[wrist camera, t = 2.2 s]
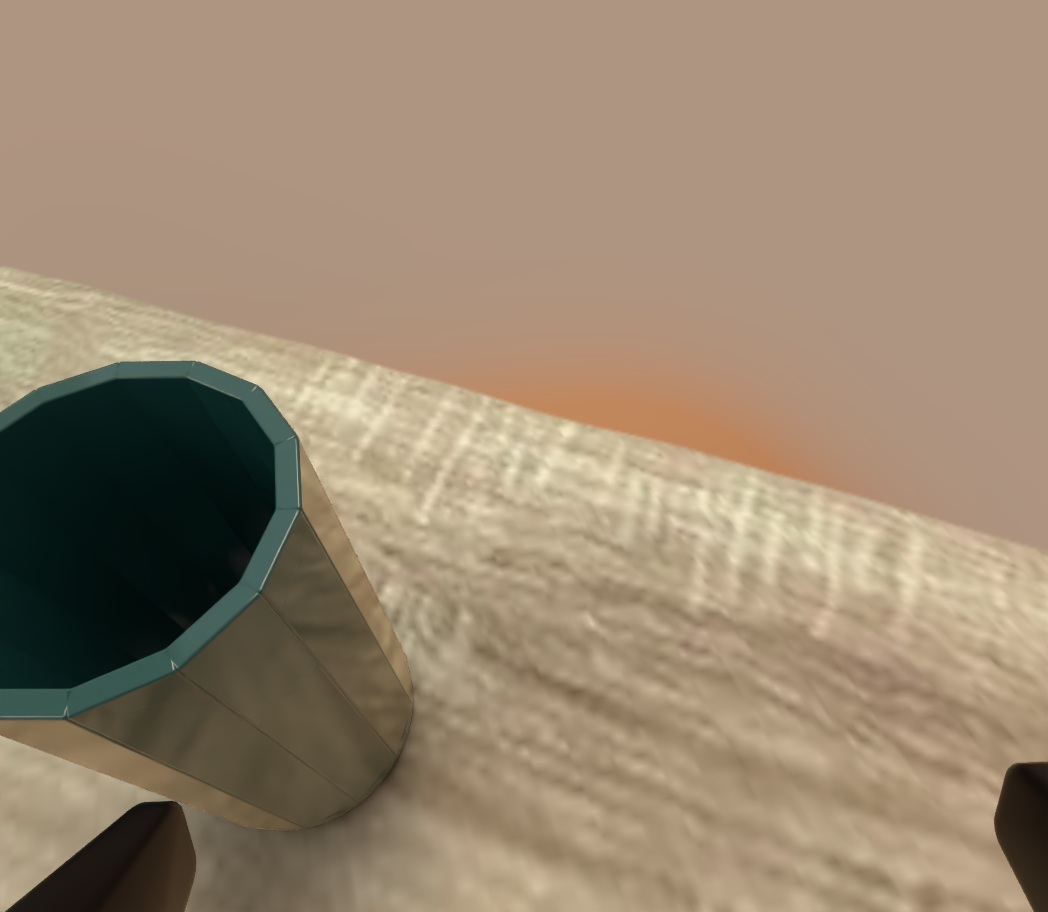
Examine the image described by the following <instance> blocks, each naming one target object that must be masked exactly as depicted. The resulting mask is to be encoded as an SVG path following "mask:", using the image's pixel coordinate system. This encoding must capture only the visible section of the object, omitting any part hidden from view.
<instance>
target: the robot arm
mask: <svg viewBox="0 0 1048 912" xmlns="http://www.w3.org/2000/svg"><path fill="white" fill-rule="evenodd" d="M994 826H995V832H996V836H997V839H998V842H999V844H1000V846H1001V848H1002V850H1003V852H1004V854H1005V856H1006V858H1007V860H1008V862H1009V864H1010V866H1011V868H1012V870H1013V872H1014V874H1015V876H1016V878H1017V880H1018V882H1019V884H1020V885H1021V887H1022V889H1023V891H1024V893H1025V895H1026V897H1027V899H1028V901H1029V903H1030V905H1031V907H1032V909H1033V911H1034V912H1048V762H1028V763H1016V764H1013V765H1012V766H1011V767H1009V769H1008V770H1007V772H1006V775H1005V778H1004V782H1003V786H1002V790H1001V794H1000V798H999V801H998V805H997V809H996V813H995V818H994ZM195 871H196V855H195V851H194V847H193V844H192V840H191V836H190V833H189V829H188V826H187V822H186V819H185V815H184V812H183V809H182V807H181V806H180V805H179V804H178V803H177V802H174V801H162V802H144V803H140V804H138V805H136V806H134V807H133V808H131V809H130V810H128V811H127V812H126V813H125V814H124V815H122V816H121V817H120V818H119V819H118V820H116V821H115V822H114V823H113V824H111V825H110V826H109V827H108V828H107V829H105V830H104V831H103V832H102V833H100V834H99V835H98V836H97V837H96V838H94V839H93V840H92V841H91V842H89V843H88V844H87V845H86V846H85V847H83V848H82V849H81V850H80V851H78V852H77V853H76V854H75V855H74V856H72V857H71V858H70V859H69V860H67V861H66V862H65V863H64V864H63V865H61V866H60V867H59V868H58V869H56V870H55V871H54V872H53V873H52V874H50V875H49V876H48V877H47V878H45V879H44V880H43V881H42V882H41V883H39V884H38V885H37V886H36V887H35V888H33V889H32V890H31V891H30V892H28V893H27V894H26V895H25V896H24V897H22V898H21V899H20V900H19V901H17V902H16V903H15V904H14V905H13V906H11V907H10V908H9V909H8V910H6V911H5V912H184V911H185V908H186V905H187V901H188V898H189V895H190V891H191V888H192V885H193V881H194V877H195Z"/></svg>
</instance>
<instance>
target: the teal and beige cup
mask: <svg viewBox="0 0 1048 912" xmlns="http://www.w3.org/2000/svg"><path fill="white" fill-rule="evenodd" d="M412 710H413V689H412V680H411V676H410V672H409V668H408V665H407V657H406V655H405V652H404V650H403V648H402V646H401V644H400V642H399V640H398V638H397V636H396V634H395V632H394V630H393V628H392V626H391V624H390V622H389V620H388V618H387V616H386V614H385V612H384V610H383V608H382V606H381V604H380V602H379V600H378V598H377V596H376V594H375V592H374V590H373V588H372V585H371V583H370V581H369V579H368V577H367V575H366V573H365V571H364V569H363V567H362V565H361V563H360V561H359V559H358V557H357V555H356V553H355V551H354V549H353V547H352V545H351V543H350V541H349V539H348V537H347V535H346V533H345V531H344V529H343V527H342V525H341V523H340V521H339V518H338V516H337V514H336V512H335V510H334V508H333V506H332V504H331V502H330V500H329V498H328V496H327V494H326V492H325V490H324V488H323V486H322V484H321V482H320V480H319V478H318V476H317V474H316V472H315V470H314V468H313V466H312V464H311V462H310V460H309V458H308V456H307V454H306V451H305V449H304V447H303V445H302V443H301V441H300V439H299V437H298V435H297V434H296V433H295V431H294V430H293V429H292V427H291V426H290V425H289V424H288V422H287V421H286V420H285V418H284V417H283V416H282V414H281V413H280V412H279V410H278V409H277V408H276V406H275V405H274V404H273V402H272V401H271V400H270V398H269V397H268V396H267V394H266V393H265V392H264V390H263V389H262V388H260V387H259V386H258V385H256V384H253V383H251V382H248V381H246V380H243V379H241V378H238V377H236V376H233V375H231V374H228V373H226V372H223V371H221V370H218V369H216V368H213V367H211V366H208V365H206V364H203V363H201V362H196V361H150V362H120V363H114V364H111V365H108V366H105V367H102V368H99V369H96V370H93V371H90V372H86V373H83V374H80V375H77V376H74V377H71V378H68V379H65V380H62V381H59V382H56V383H53V384H49V385H46V386H43V387H40V388H38V389H37V391H36V390H34V391H32V392H30V393H29V394H27V395H26V396H24V397H23V398H21V399H20V400H18V401H17V402H15V403H13V404H12V405H10V406H9V407H7V408H6V409H4V410H3V411H1V412H0V735H1V736H3V737H6V738H9V739H11V740H14V741H17V742H19V743H22V744H25V745H28V746H30V747H33V748H36V749H38V750H41V751H44V752H46V753H49V754H52V755H54V756H57V757H60V758H62V759H65V760H68V761H71V762H73V763H76V764H79V765H81V766H84V767H87V768H89V769H92V770H95V771H97V772H100V773H103V774H106V775H108V776H111V777H114V778H116V779H119V780H122V781H124V782H127V783H130V784H132V785H135V786H138V787H140V788H143V789H146V790H149V791H151V792H154V793H157V794H159V795H162V796H165V797H167V798H170V799H173V800H175V801H178V802H181V803H184V804H186V805H189V806H192V807H194V808H197V809H200V810H202V811H205V812H208V813H210V814H213V815H216V816H218V817H221V818H224V819H227V820H229V821H232V822H235V823H237V824H240V825H243V826H245V827H248V828H262V829H267V830H274V831H293V830H302V829H306V828H311V827H315V826H318V825H321V824H324V823H326V822H329V821H331V820H333V819H335V818H337V817H339V816H341V815H343V814H345V813H347V812H348V811H349V810H351V809H352V808H354V807H355V806H357V805H358V804H359V803H361V802H362V801H363V800H364V799H365V798H366V797H367V796H369V795H370V794H371V793H372V792H373V791H374V790H375V789H376V787H377V786H378V785H379V784H380V783H381V782H382V781H383V780H384V778H385V777H386V775H387V774H388V773H389V771H390V770H391V768H392V767H393V765H394V763H395V762H396V760H397V758H398V756H399V754H400V752H401V750H402V748H403V745H404V743H405V740H406V738H407V734H408V731H409V727H410V723H411V717H412Z"/></svg>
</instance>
